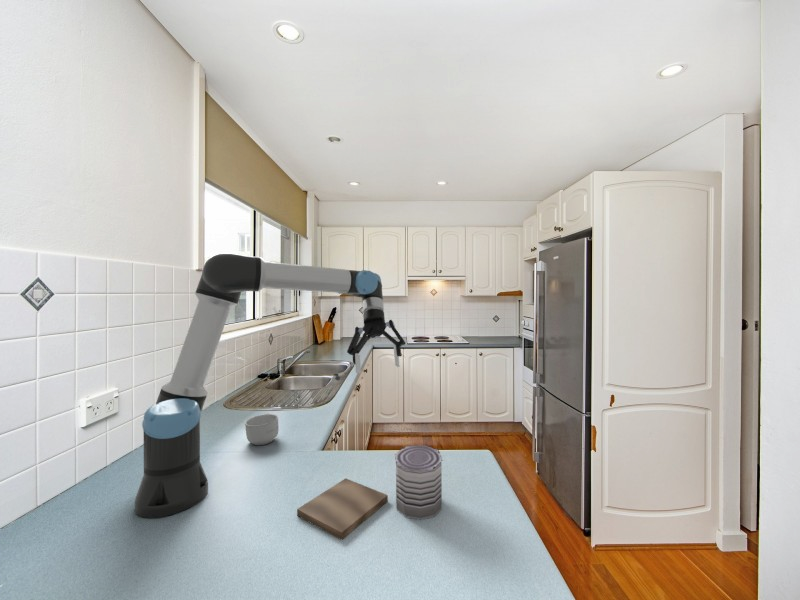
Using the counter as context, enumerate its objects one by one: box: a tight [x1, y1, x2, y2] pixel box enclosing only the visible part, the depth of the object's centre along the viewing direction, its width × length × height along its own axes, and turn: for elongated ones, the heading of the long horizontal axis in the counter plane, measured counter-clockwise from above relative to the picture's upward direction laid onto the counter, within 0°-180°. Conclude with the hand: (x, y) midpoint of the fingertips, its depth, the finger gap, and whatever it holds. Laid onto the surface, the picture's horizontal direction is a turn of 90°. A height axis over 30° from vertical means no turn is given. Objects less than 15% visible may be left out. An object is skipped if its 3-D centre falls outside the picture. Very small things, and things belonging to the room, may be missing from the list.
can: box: [394, 444, 444, 521], centre depth 81 cm, size 11×11×12 cm
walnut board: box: [296, 478, 389, 540], centre depth 80 cm, size 16×14×2 cm
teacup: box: [244, 412, 279, 446], centre depth 120 cm, size 14×11×8 cm
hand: (377, 369), depth 112 cm, fingers open, 13 cm apart
